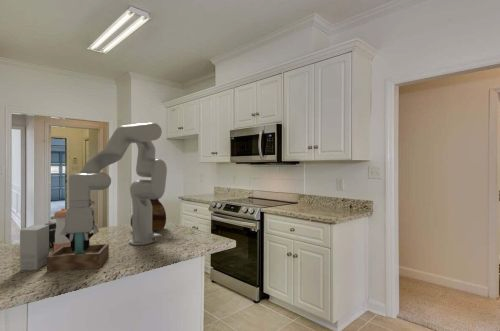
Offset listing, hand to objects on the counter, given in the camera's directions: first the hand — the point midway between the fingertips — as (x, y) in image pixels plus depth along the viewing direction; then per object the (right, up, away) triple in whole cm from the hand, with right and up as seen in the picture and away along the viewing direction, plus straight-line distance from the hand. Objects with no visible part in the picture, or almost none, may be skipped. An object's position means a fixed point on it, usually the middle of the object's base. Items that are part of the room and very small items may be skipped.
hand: (80, 249), depth 118 cm
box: (0, -6, 0) cm, 6 cm away
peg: (0, -4, 0) cm, 4 cm away
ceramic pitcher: (+8, -5, +57) cm, 58 cm away
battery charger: (-27, -6, +23) cm, 35 cm away
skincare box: (-15, -6, -4) cm, 17 cm away
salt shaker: (-18, -6, +18) cm, 27 cm away
